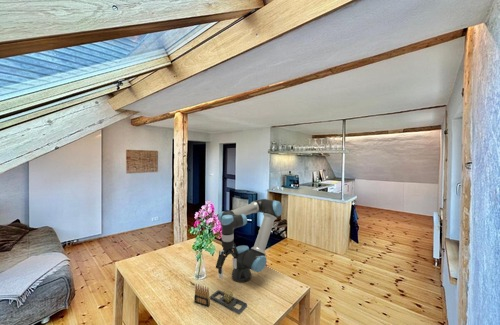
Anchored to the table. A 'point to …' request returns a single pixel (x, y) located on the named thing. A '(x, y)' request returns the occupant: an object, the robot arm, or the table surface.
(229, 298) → the block
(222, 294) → the grey slotted plate
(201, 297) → the ammunition clip
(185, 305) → the table surface
